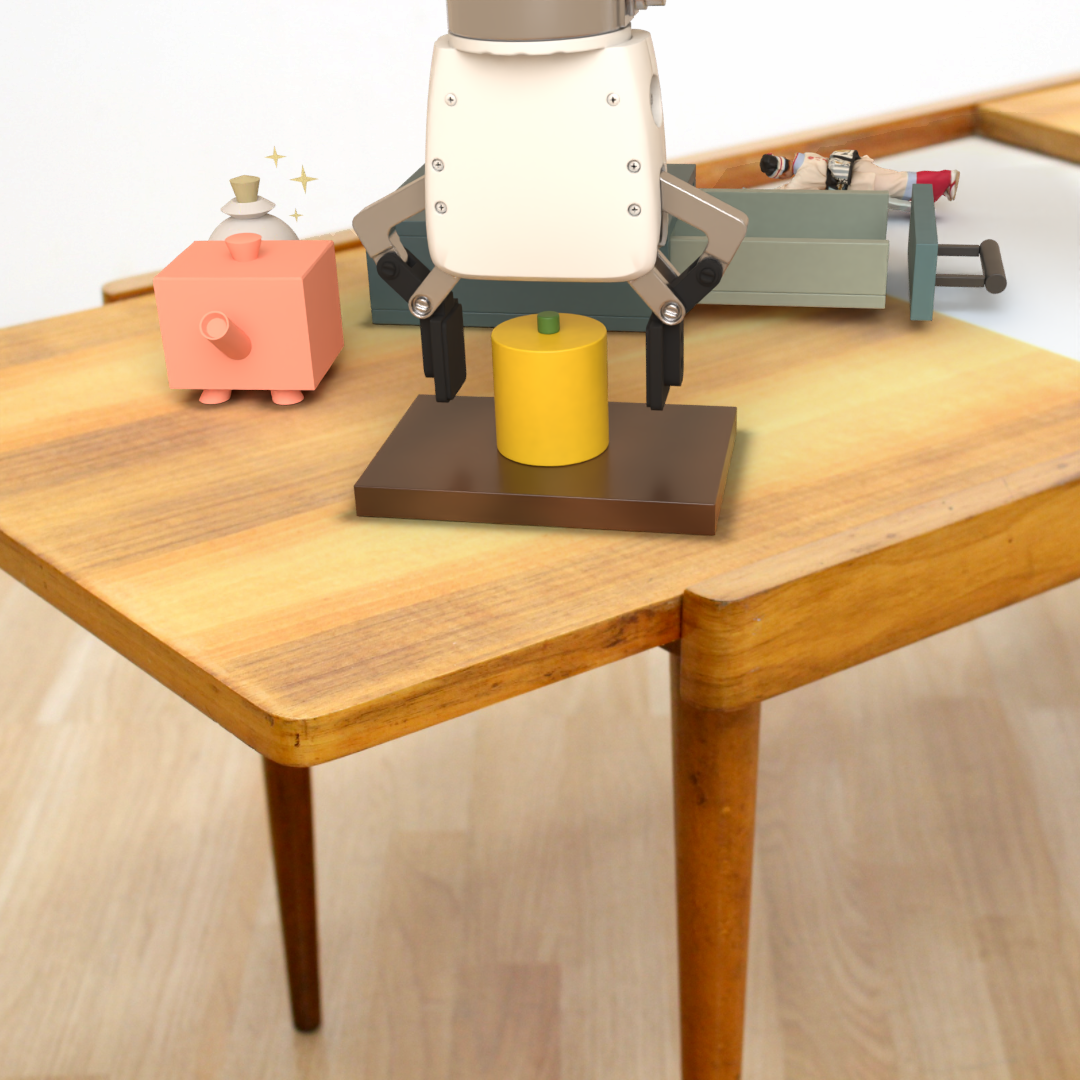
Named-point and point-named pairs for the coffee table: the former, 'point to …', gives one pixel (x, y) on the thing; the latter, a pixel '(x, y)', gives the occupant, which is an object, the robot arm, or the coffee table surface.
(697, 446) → the board
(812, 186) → the figurine
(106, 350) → the coffee table surface
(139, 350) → the coffee table surface
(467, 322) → the cabinet
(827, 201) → the drawer
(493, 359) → the pepper
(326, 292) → the pink cube teapot
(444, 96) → the robot arm
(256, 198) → the corked potion bottle
